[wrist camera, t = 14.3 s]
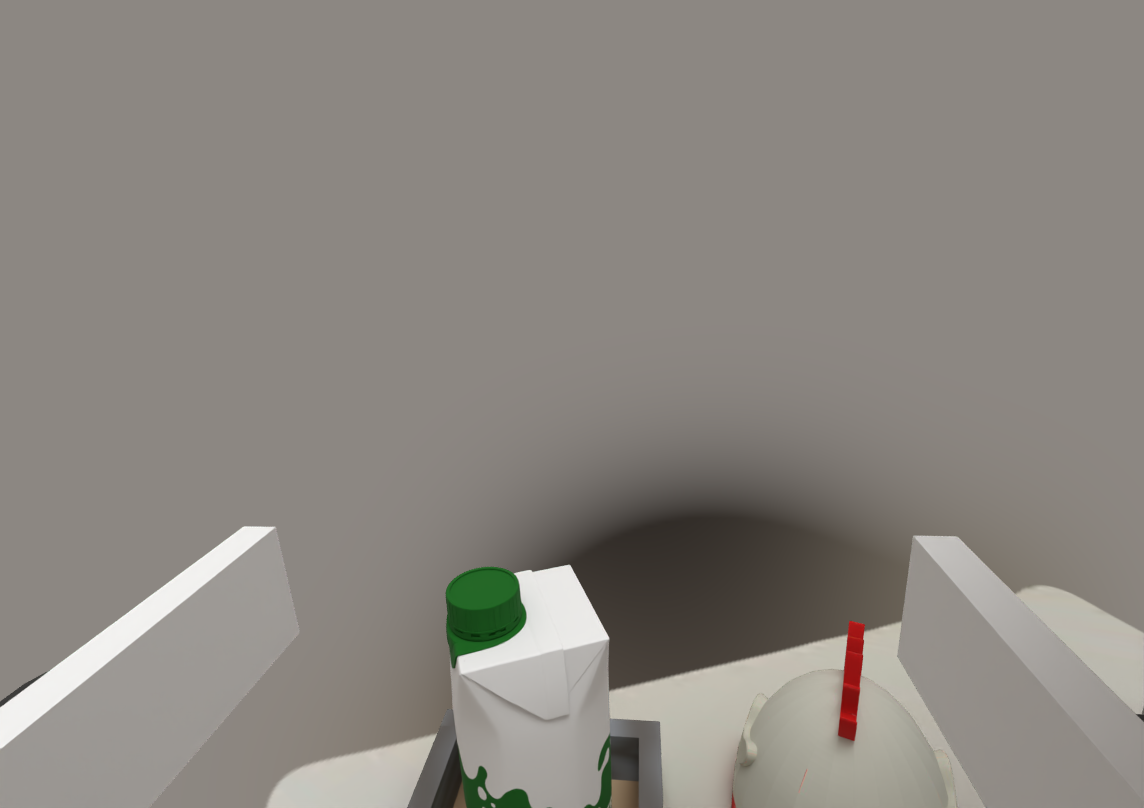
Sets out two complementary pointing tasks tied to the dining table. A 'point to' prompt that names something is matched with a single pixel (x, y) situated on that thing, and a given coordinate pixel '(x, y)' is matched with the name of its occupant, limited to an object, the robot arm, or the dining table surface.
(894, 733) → the kitchen timer
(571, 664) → the soya milk
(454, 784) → the dock
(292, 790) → the dining table surface
